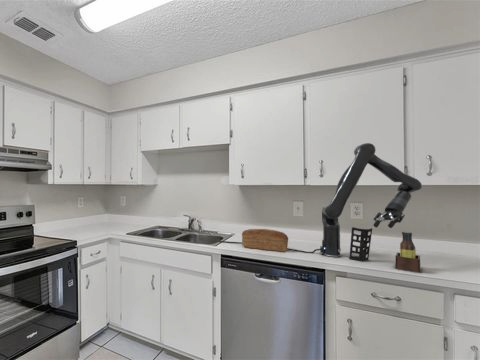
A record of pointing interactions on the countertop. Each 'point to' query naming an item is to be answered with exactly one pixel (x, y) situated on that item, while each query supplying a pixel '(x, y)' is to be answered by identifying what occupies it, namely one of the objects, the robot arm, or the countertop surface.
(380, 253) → the countertop surface
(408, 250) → the sauce bottle
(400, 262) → the wooden sleeve
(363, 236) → the holder
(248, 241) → the bread
